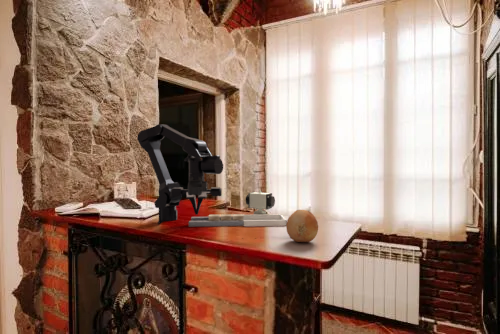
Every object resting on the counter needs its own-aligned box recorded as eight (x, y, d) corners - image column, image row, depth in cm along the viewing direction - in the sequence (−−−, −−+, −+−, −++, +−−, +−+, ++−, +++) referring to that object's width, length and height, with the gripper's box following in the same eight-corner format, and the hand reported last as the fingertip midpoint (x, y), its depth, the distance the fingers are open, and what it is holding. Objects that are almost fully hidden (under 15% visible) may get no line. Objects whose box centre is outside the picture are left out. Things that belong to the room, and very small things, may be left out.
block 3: (232, 223, 116) (232, 216, 116) (232, 221, 120) (232, 214, 120) (243, 223, 116) (243, 215, 116) (242, 221, 120) (242, 214, 120)
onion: (288, 246, 91) (288, 213, 90) (284, 237, 100) (284, 207, 100) (321, 246, 91) (321, 213, 90) (314, 237, 101) (314, 207, 100)
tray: (243, 228, 112) (244, 220, 112) (242, 222, 124) (242, 214, 124) (286, 228, 114) (286, 220, 113) (281, 221, 125) (281, 214, 125)
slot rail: (188, 229, 112) (188, 222, 112) (191, 223, 122) (191, 216, 121) (243, 228, 113) (243, 221, 113) (242, 222, 123) (242, 216, 123)
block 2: (220, 224, 116) (220, 216, 116) (220, 222, 119) (220, 214, 119) (231, 224, 116) (231, 216, 116) (231, 221, 120) (231, 214, 119)
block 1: (208, 224, 115) (208, 216, 115) (209, 222, 119) (209, 214, 119) (219, 224, 116) (219, 216, 116) (219, 222, 119) (219, 214, 119)
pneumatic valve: (270, 221, 126) (270, 192, 125) (245, 218, 131) (245, 190, 131) (275, 218, 130) (276, 190, 130) (251, 216, 136) (251, 189, 135)
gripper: (167, 174, 107) (167, 219, 108) (221, 174, 109) (221, 218, 109) (172, 172, 119) (173, 213, 119) (221, 172, 120) (221, 212, 121)
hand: (196, 214), depth 117 cm, fingers closed
